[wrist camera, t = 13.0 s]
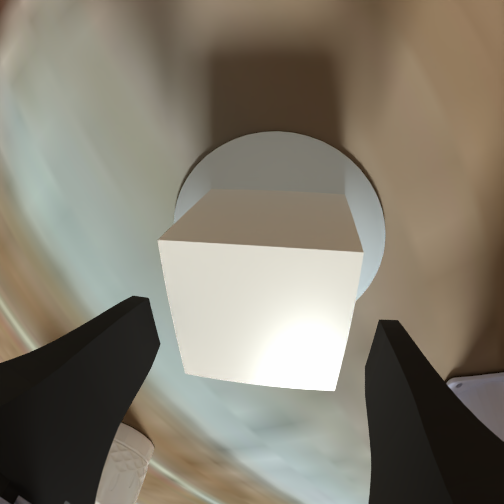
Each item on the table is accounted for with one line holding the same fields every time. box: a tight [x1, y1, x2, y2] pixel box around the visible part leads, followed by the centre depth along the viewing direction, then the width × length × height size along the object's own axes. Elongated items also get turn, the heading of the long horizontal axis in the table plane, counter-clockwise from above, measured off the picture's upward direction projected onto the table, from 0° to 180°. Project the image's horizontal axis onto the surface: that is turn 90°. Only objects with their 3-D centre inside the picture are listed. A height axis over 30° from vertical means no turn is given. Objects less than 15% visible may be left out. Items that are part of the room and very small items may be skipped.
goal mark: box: [174, 131, 385, 300], centre depth 14 cm, size 10×10×1 cm
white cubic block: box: [158, 189, 364, 391], centre depth 12 cm, size 6×6×6 cm
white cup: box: [95, 423, 154, 504], centre depth 24 cm, size 8×8×10 cm
